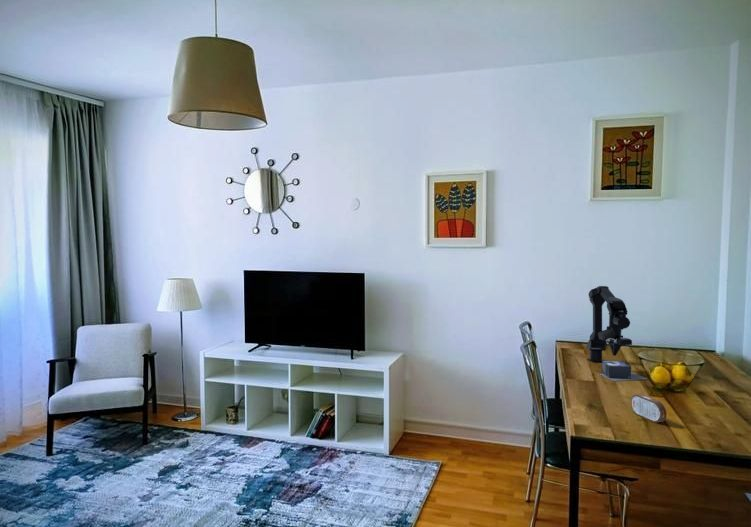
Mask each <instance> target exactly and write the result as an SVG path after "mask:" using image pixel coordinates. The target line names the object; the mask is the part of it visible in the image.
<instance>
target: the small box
mask: <svg viewBox="0 0 751 527" xmlns="http://www.w3.org/2000/svg"><path fill="white" fill-rule="evenodd" d="M631 372H632V366H631V365H630V364H628V363H626V362H625V361H624V360H603V361H602V362H601V373H602V374H605V375H606V376H608V378H628V379H631ZM608 378H607V379H608Z"/></svg>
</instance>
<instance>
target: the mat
mask: <svg viewBox="0 0 751 527" xmlns="http://www.w3.org/2000/svg"><path fill="white" fill-rule="evenodd" d="M601 375H602V377H604V378H605V379H608V380H611V381H613V382H624V381H625V382H626V380H629V381H645V380H648V378H646V377H644V376H641V375H639V374H638V373H637V374H636V373H634V372H632V371H631V379H628V378H608V376H606V375H605V374H604V373H599V376H601Z"/></svg>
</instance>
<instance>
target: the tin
mask: <svg viewBox="0 0 751 527" xmlns="http://www.w3.org/2000/svg"><path fill="white" fill-rule="evenodd" d="M630 405H631V409H632V410H633V412H634V413H635V414H636V415H637V416H639V417H641V418H644V419H646V420H647V421H651V422H652V423H662V422H664V421H665V420H666V419H667V409H666V407H665V405H664V404H663V402H662V401H661V400H659V399H656V398H655V397H651V396H650V395H649V396H648V395H646V394H645V393H638V394H637V393H636V394H634V395H632V396H631V398H630Z"/></svg>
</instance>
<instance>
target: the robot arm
mask: <svg viewBox="0 0 751 527" xmlns="http://www.w3.org/2000/svg"><path fill="white" fill-rule="evenodd" d="M588 299H589V302H590V303H591V305H592V333H591V334H590V335H589V340H588V342H587V343H586V349H587V350H588V351H589V358H587V360H588V361H590V362H592V363H602V361H604V359H603V351H604V352H605V351H606V349H607V344H608V345H609V347H610V350H611V353H612V356H614V357H615V356H617V354H618V353H619V351H620V350H621V348H622V347H623V346H632V345H633V341H632V339H631V338H628V337H624V335H622V330H624V329H625V330H626V329H628V328H629V327H630V325H631V321H630V319H629V318H628V317H627V315H628V309H627V307H626V303H625V302H624V300H622V299H621V298H618V297H616V296H615V295H614V293H612V291H611V290H610V288H609V286H607V285H599V286H596V287H595V288H592V289H590V291H589V292H588ZM605 302H606V309H607V311H608V315H609V316H608V318H609V319H608V320H609V321H608V325H607V326H606V329H604V330H603V306H604V303H605Z"/></svg>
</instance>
